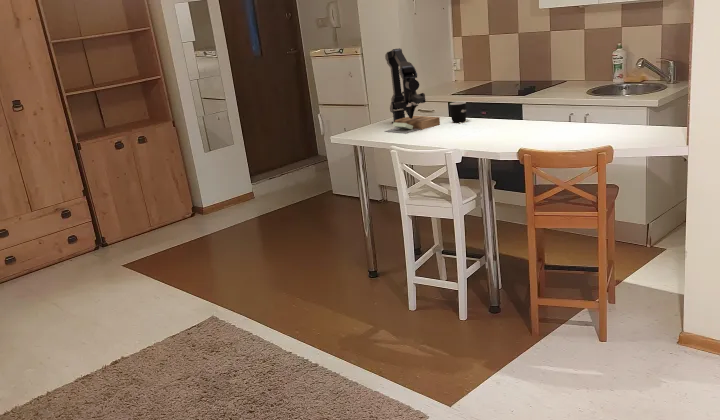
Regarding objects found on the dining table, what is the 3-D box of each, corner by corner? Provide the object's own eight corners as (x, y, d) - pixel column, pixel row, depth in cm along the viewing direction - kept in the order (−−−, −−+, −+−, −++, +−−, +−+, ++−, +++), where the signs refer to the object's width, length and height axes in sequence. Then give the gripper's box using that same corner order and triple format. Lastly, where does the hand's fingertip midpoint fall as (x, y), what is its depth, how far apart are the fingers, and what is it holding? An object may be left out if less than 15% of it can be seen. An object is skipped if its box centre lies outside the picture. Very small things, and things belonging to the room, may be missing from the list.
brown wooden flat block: (395, 127, 361) (394, 120, 360) (413, 122, 370) (412, 115, 368) (422, 129, 346) (421, 121, 345) (439, 124, 355) (439, 117, 354)
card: (401, 125, 354) (400, 128, 354) (393, 122, 350) (392, 126, 350) (413, 125, 347) (412, 129, 347) (405, 123, 343) (404, 126, 343)
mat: (384, 131, 352) (384, 131, 352) (399, 127, 359) (399, 127, 359) (405, 133, 340) (405, 132, 340) (420, 129, 347) (420, 128, 347)
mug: (462, 123, 351) (461, 104, 348) (447, 123, 356) (446, 104, 353) (473, 119, 360) (472, 100, 357) (458, 119, 365) (457, 100, 362)
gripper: (407, 92, 336) (409, 122, 341) (431, 86, 348) (434, 116, 352) (392, 91, 344) (394, 121, 349) (416, 86, 356) (419, 115, 360)
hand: (411, 118), depth 352 cm, fingers closed
